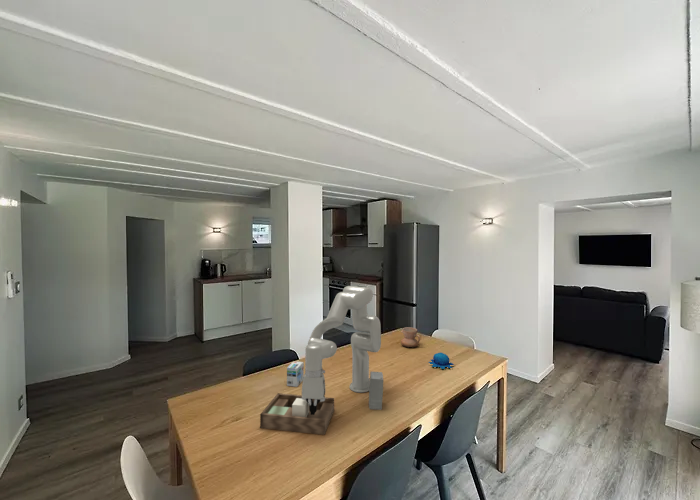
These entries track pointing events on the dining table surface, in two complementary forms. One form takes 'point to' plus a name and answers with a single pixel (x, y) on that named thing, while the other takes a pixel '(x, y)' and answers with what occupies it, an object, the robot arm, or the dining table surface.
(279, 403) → the box
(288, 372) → the light bulb box
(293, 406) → the cream block
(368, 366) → the robot arm
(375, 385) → the skincare box
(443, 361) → the plush toy
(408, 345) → the ceramic jug
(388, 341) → the dining table surface
